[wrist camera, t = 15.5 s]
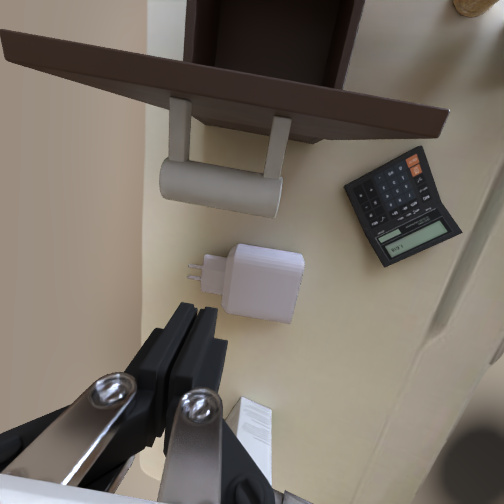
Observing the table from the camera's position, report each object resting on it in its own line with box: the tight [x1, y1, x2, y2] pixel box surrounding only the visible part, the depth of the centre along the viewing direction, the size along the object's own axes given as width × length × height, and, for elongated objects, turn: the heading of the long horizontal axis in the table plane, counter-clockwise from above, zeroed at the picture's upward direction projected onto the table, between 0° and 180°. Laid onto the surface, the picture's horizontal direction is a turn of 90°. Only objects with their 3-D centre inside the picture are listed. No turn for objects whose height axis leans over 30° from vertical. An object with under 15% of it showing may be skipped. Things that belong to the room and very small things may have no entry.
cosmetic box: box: [225, 397, 272, 487], centre depth 38 cm, size 8×7×16 cm
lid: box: [0, 29, 450, 218], centre depth 15 cm, size 15×14×5 cm
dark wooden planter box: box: [183, 0, 365, 144], centre depth 24 cm, size 15×14×9 cm
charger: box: [187, 244, 305, 324], centre depth 34 cm, size 5×9×15 cm
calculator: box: [344, 146, 463, 267], centre depth 31 cm, size 9×12×3 cm
